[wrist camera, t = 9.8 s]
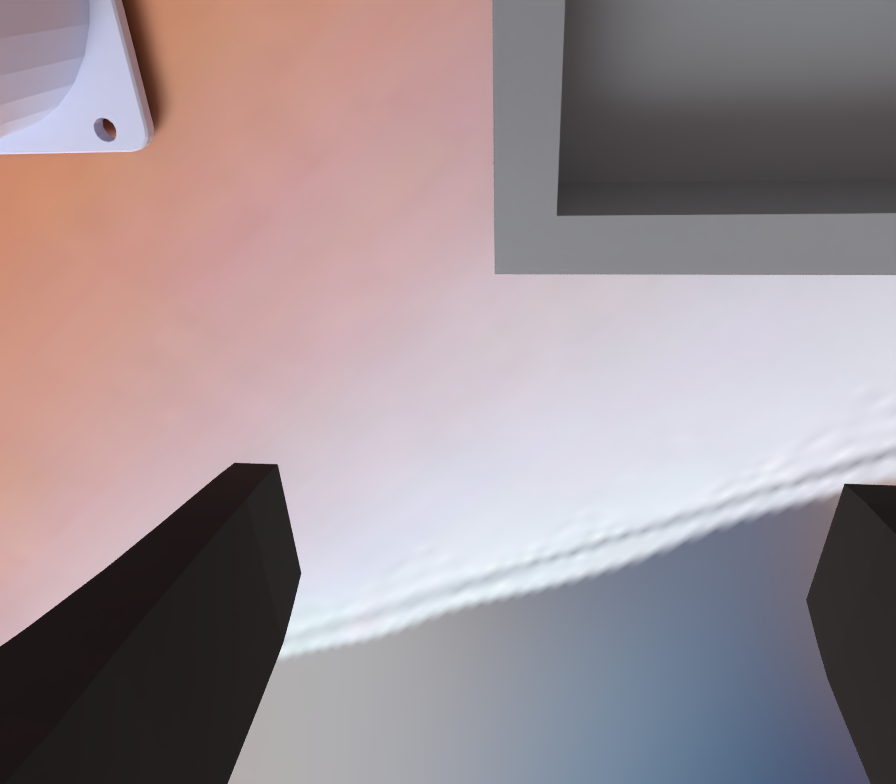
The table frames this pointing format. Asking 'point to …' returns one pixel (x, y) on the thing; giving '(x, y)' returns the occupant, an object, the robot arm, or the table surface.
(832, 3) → the tray
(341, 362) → the table surface
